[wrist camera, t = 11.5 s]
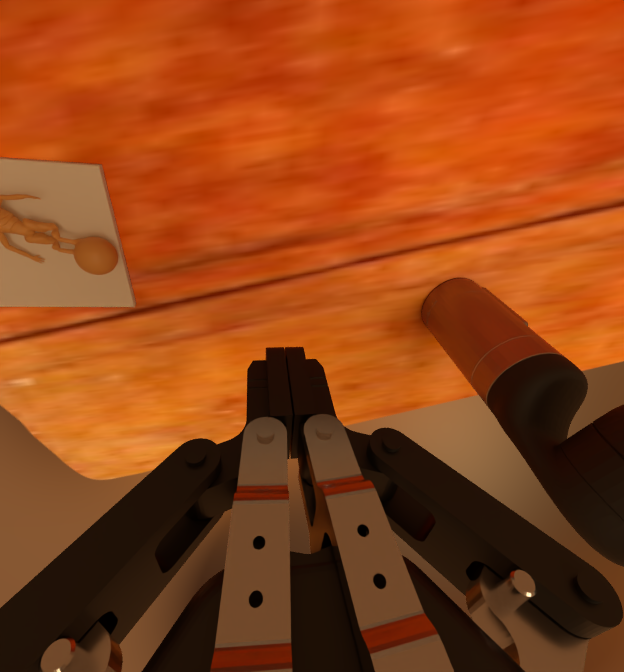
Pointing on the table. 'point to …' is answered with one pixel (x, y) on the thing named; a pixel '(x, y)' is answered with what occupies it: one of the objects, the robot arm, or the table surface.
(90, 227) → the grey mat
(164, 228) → the table surface
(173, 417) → the table surface
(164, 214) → the table surface
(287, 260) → the table surface
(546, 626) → the robot arm
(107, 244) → the figurine
